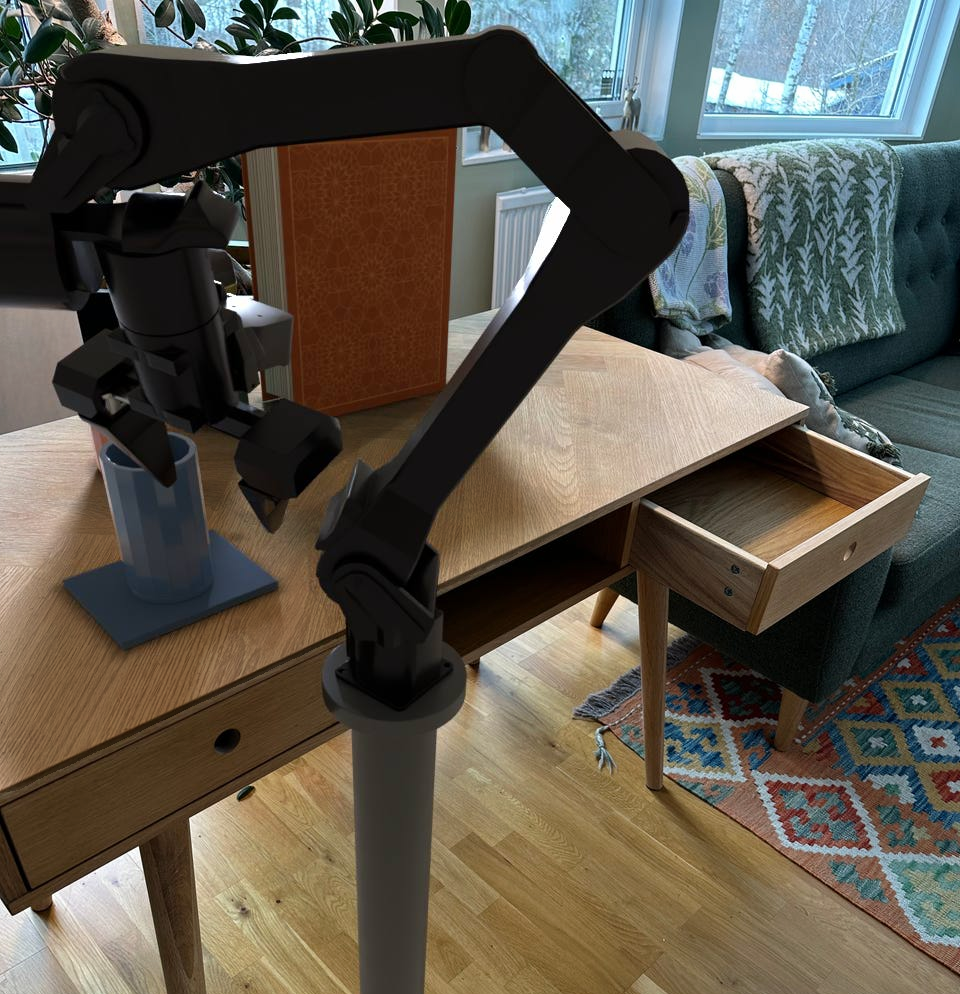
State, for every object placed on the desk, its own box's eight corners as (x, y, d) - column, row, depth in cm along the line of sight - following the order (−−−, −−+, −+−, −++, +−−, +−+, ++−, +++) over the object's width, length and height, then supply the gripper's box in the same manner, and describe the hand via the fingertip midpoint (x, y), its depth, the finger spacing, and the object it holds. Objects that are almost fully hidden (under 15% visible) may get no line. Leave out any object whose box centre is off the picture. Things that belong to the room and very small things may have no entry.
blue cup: (231, 578, 75) (215, 449, 68) (163, 614, 71) (138, 480, 63) (178, 549, 78) (156, 422, 71) (109, 582, 74) (79, 450, 67)
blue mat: (213, 535, 82) (212, 528, 82) (278, 588, 76) (278, 580, 76) (63, 587, 74) (61, 579, 74) (123, 651, 68) (122, 642, 68)
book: (296, 425, 102) (276, 130, 84) (262, 401, 107) (237, 117, 89) (452, 388, 114) (465, 123, 96) (415, 367, 119) (421, 111, 101)
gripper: (382, 288, 52) (393, 484, 65) (136, 205, 57) (190, 402, 69) (270, 388, 46) (306, 584, 59) (5, 286, 51) (90, 486, 63)
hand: (221, 506), depth 63 cm, fingers open, 9 cm apart
